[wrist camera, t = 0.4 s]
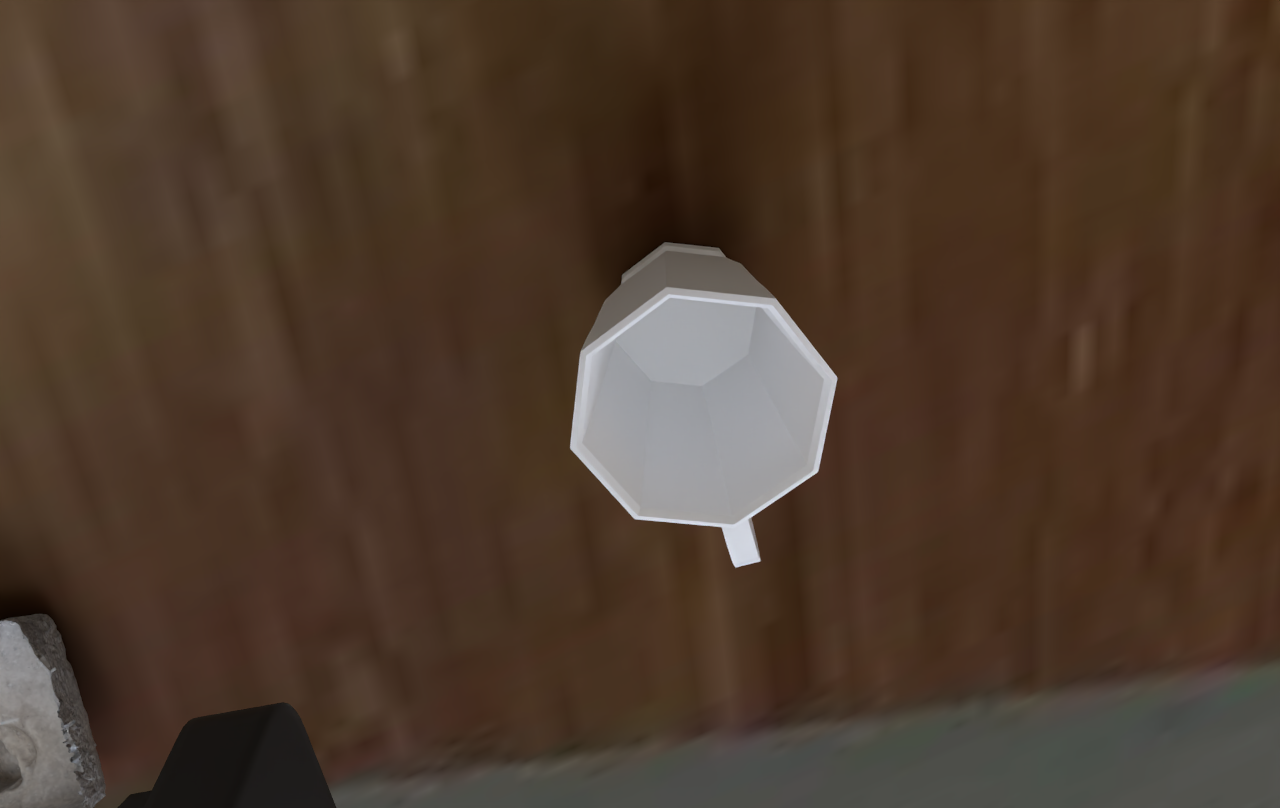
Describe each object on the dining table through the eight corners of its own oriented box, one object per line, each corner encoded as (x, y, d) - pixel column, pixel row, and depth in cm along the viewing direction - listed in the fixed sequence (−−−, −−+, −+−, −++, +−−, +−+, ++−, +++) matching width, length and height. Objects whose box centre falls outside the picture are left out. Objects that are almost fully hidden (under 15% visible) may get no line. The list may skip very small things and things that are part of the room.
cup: (765, 170, 35) (808, 249, 28) (833, 454, 40) (885, 588, 32) (543, 233, 36) (527, 326, 29) (631, 506, 40) (638, 649, 33)
